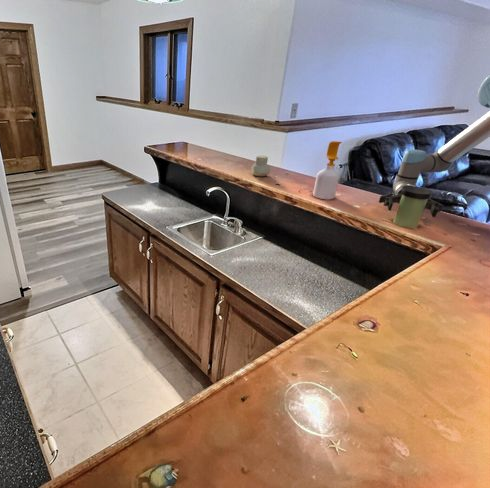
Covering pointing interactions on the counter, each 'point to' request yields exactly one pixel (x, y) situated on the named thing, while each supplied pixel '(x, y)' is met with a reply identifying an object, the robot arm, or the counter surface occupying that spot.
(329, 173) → the soap bottle
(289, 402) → the counter surface
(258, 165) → the air freshener
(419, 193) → the lid
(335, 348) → the counter surface
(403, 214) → the jar
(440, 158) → the robot arm
